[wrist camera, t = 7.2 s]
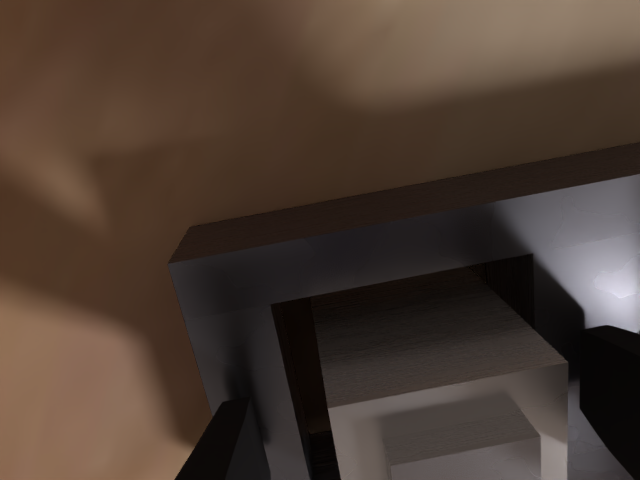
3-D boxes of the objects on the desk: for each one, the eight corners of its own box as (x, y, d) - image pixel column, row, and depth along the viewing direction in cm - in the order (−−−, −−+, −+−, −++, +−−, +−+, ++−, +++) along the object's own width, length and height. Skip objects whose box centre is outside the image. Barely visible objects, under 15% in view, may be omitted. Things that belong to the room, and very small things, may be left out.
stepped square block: (457, 257, 13) (591, 384, 7) (466, 384, 14) (585, 571, 8) (308, 284, 12) (332, 434, 7) (331, 411, 14) (366, 618, 8)
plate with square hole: (891, 94, 12) (1041, 97, 10) (834, 362, 15) (942, 416, 12) (189, 227, 12) (167, 264, 9) (258, 481, 14) (255, 561, 12)
